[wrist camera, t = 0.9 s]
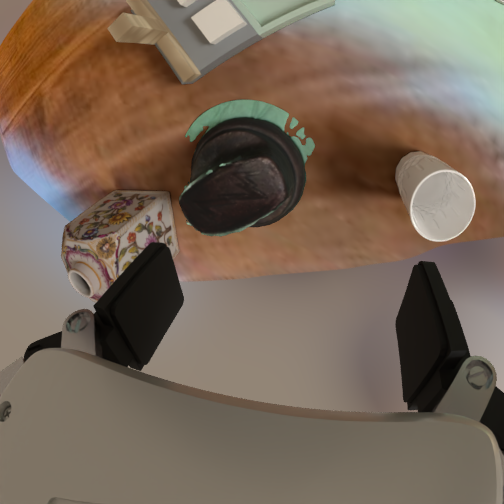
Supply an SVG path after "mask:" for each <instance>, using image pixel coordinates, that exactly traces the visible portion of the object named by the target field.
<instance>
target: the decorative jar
mask: <svg viewBox="0 0 504 504" xmlns="http://www.w3.org/2000/svg"><path fill="white" fill-rule="evenodd" d="M151 242H159V243H165V244H166V245H167V247H169V248H170V250H171V254H172V258H173V259H174V258H175V256H176V255H177V253H178V252H179V247H178V241H177V236H176V229H175V224H174V217H173V211H172V205H171V200H170V194H169V192H166V191H140V190H115V191H113V192H111V193H110V194H108V195H107V196H105V197H104V198H102V199H101V200H99V201H98V202H96V203H95V204H94V205H92V206H91V207H89V208H88V209H87V210H85V211H84V212H83V213H81V214H80V215H79V216H78V217H76V218H75V219H74V220H73V221H71V222H70V223H68V224H67V225H66V226H65V229H64V233H63V241H62V254H61V257H62V260H63V262H64V265H65V267H66V269H67V272H68V278H69V281H70V283H71V284H72V286H73V287H74V289H75V290H76V291H77V292H78V293H80V294H81V295H83V296H85V297H88V298H90V299H91V300H92V301H94V302H97V301H98V300H99V299H100V298H101V296H102V295H103V294H104V293H105V292H106V291H107V289H108V288H109V287H110V286H111V285H112V284H113V283H114V282H115V280H116V279H117V278H118V277H119V276H120V275H121V274H122V273H123V271H124V270H125V269H126V268H127V267H128V266H129V265H130V264H131V263H132V262H133V261H134V259H135V258H136V257H137V256H138V255H139V254H140V253H141V252H142V251H143V250H144V249H145V248H146V247H147V246H148V245H149V244H150V243H151Z"/></svg>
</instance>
